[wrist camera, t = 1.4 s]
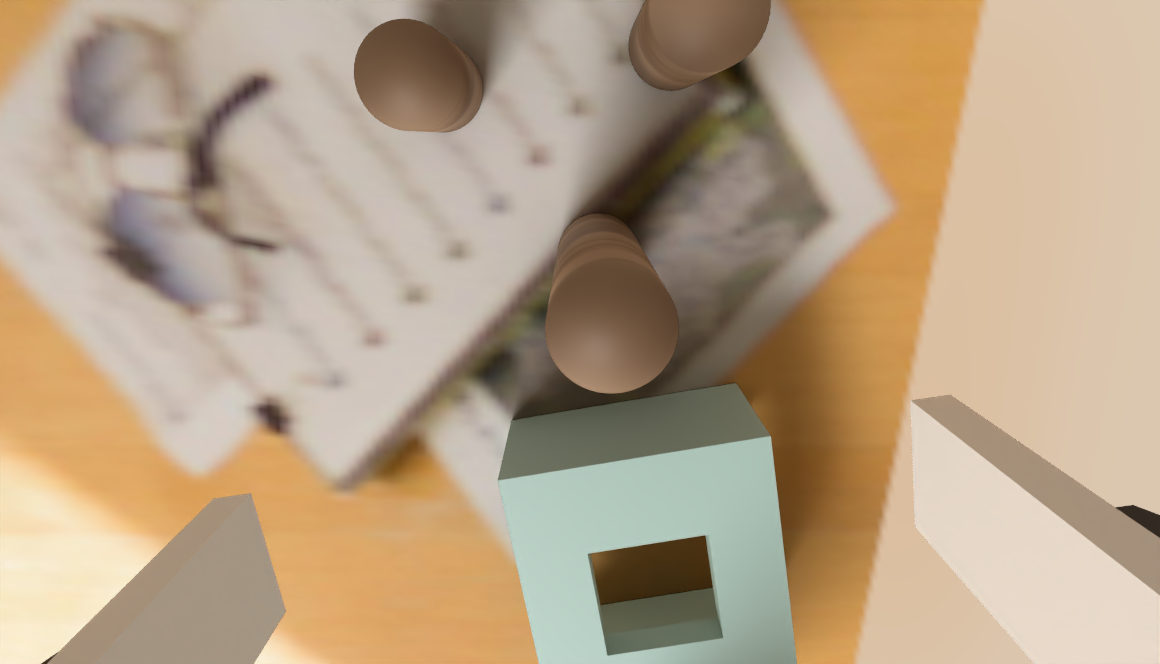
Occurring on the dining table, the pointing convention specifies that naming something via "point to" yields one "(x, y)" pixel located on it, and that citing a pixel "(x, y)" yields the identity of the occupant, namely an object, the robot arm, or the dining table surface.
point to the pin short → (416, 78)
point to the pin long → (608, 309)
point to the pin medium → (694, 38)
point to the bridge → (649, 529)
